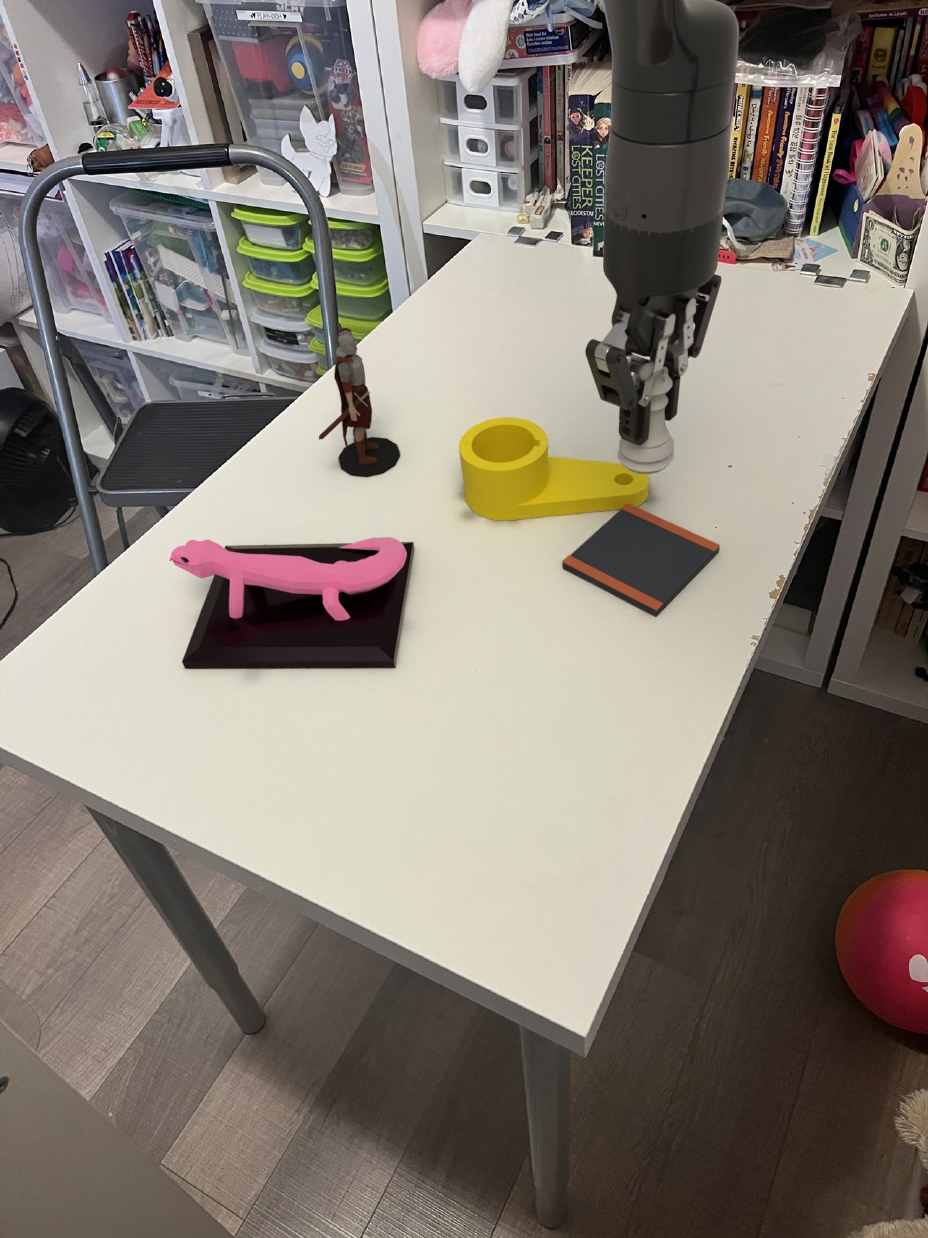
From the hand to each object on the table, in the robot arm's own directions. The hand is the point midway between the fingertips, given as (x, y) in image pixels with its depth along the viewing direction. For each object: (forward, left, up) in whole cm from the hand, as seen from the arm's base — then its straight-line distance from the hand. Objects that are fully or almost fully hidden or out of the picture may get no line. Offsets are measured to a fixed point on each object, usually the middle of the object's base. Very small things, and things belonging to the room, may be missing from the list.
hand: (648, 426), depth 69 cm
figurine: (+32, +3, -15) cm, 36 cm away
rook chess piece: (0, 0, -3) cm, 3 cm away
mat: (0, -1, -15) cm, 15 cm away
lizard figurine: (+21, +22, -15) cm, 34 cm away
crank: (+12, -4, -15) cm, 20 cm away
